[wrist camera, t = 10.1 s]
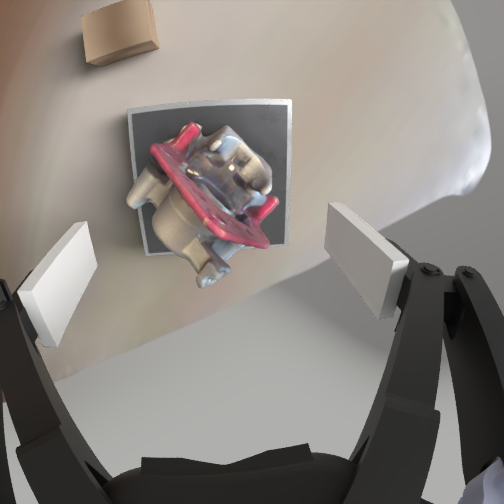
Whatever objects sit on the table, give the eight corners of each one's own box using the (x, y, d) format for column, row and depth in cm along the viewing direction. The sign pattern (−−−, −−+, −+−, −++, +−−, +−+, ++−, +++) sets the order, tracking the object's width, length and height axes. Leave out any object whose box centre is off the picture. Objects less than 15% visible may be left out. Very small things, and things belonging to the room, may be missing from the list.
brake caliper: (321, 174, 24) (284, 304, 17) (240, 219, 32) (192, 320, 25) (219, 74, 19) (116, 173, 12) (156, 149, 27) (81, 242, 20)
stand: (151, 240, 31) (144, 258, 28) (136, 108, 25) (125, 109, 21) (280, 231, 33) (289, 248, 29) (282, 100, 26) (293, 99, 23)
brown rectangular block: (101, 66, 22) (86, 62, 18) (96, 25, 20) (81, 16, 16) (159, 48, 22) (151, 40, 19) (152, 6, 20) (144, -7, 16)
